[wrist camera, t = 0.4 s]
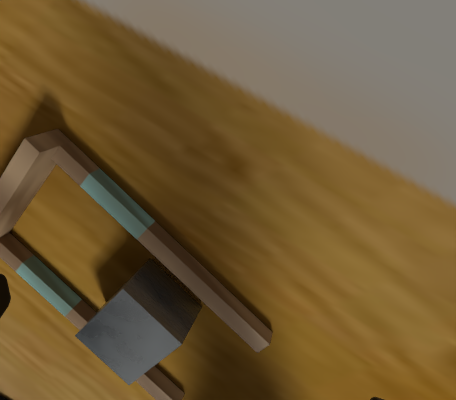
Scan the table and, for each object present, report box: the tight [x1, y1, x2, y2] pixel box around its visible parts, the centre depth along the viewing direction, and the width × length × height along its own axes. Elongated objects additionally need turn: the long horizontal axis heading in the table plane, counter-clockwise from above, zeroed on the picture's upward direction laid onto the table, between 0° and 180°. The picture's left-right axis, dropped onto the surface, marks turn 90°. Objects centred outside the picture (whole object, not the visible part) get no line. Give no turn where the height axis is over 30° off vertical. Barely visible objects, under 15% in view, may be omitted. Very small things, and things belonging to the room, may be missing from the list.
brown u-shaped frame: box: [0, 129, 273, 400], centre depth 27 cm, size 11×20×3 cm, turn 48°
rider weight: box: [75, 259, 202, 385], centre depth 27 cm, size 6×5×4 cm
